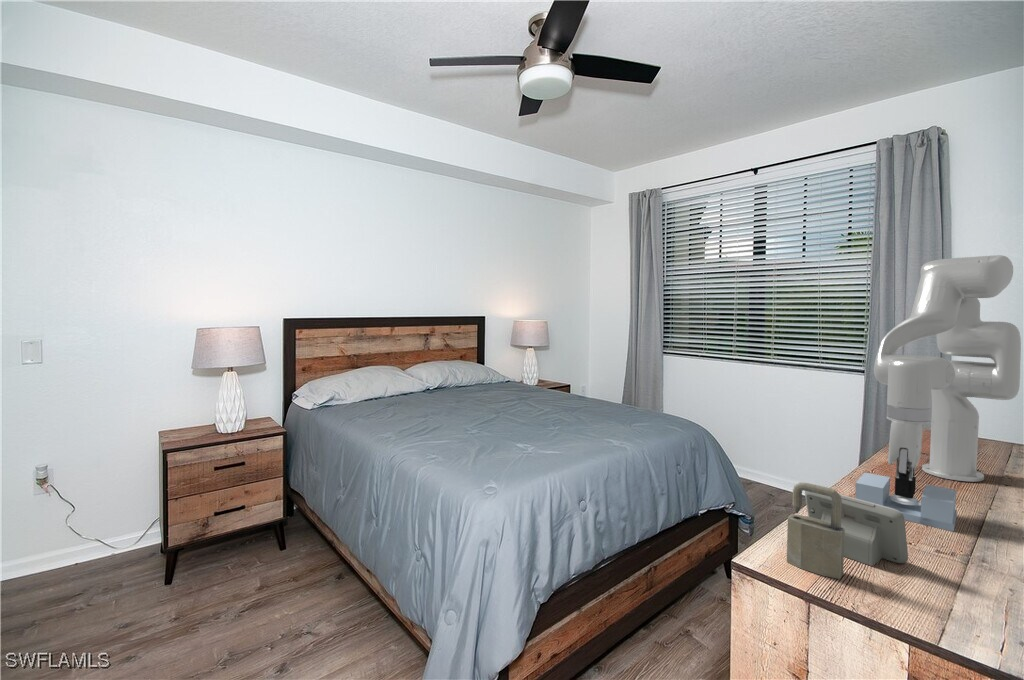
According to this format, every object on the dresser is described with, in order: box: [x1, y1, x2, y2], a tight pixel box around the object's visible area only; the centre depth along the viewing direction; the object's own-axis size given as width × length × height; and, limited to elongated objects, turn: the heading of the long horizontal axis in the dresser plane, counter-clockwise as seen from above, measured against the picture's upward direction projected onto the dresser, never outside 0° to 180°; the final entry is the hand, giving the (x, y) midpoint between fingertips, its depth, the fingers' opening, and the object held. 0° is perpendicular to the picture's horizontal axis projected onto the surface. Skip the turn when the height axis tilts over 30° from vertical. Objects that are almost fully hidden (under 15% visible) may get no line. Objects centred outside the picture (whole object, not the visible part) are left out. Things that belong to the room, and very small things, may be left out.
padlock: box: [786, 481, 845, 580], centre depth 84 cm, size 4×8×15 cm, turn 44°
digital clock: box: [804, 491, 909, 567], centre depth 90 cm, size 16×9×11 cm, turn 24°
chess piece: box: [890, 465, 919, 505], centre depth 107 cm, size 5×5×10 cm
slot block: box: [854, 472, 958, 533], centre depth 107 cm, size 10×17×6 cm, turn 44°
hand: (904, 493), depth 107 cm, fingers closed on chess piece
